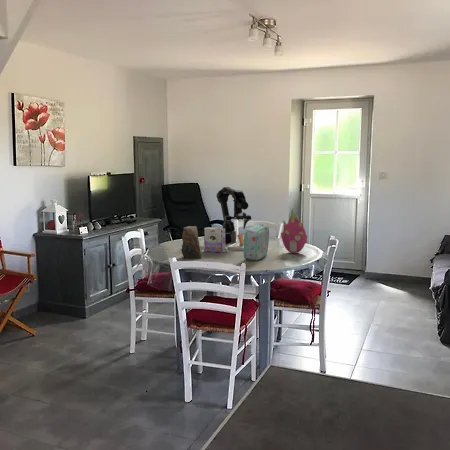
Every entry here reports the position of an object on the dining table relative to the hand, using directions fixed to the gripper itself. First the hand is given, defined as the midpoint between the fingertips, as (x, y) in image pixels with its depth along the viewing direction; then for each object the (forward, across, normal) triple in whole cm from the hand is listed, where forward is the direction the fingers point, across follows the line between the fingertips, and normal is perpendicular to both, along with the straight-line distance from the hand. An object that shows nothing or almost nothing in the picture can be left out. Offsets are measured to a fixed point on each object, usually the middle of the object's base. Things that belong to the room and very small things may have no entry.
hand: (237, 229), depth 358 cm
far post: (+12, -2, +6) cm, 14 cm away
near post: (+12, -14, -13) cm, 22 cm away
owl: (+12, -38, -33) cm, 52 cm away
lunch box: (+12, +2, -43) cm, 45 cm away
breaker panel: (+12, +1, -9) cm, 15 cm away
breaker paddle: (+9, +2, -10) cm, 13 cm away
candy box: (+12, -20, -17) cm, 29 cm away
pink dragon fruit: (+12, +31, -34) cm, 48 cm away
